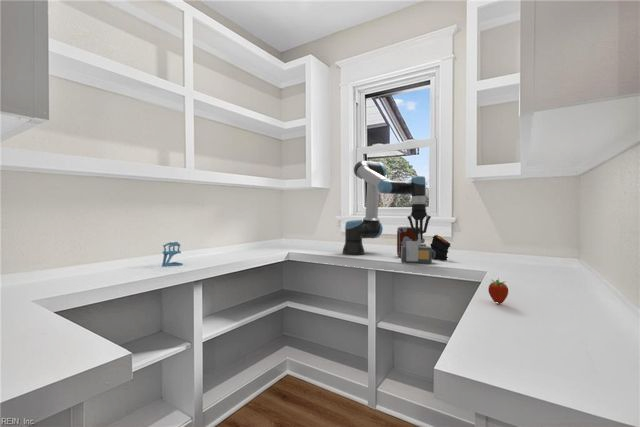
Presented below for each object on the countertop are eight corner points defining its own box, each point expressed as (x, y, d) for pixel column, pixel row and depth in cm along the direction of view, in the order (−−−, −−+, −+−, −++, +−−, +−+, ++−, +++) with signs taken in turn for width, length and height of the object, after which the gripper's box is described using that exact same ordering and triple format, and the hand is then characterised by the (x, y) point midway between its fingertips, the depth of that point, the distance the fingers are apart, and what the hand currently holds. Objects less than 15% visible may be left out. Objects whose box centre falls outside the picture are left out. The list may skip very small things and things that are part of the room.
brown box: (429, 258, 198) (430, 226, 198) (399, 257, 199) (399, 226, 199) (425, 256, 208) (425, 226, 208) (396, 255, 208) (396, 226, 208)
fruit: (487, 304, 96) (488, 278, 96) (488, 300, 100) (488, 275, 100) (508, 307, 93) (508, 280, 93) (508, 303, 97) (508, 277, 97)
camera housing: (402, 263, 176) (402, 245, 176) (400, 260, 187) (401, 244, 187) (436, 264, 173) (436, 246, 173) (433, 261, 183) (433, 245, 183)
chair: (159, 265, 159) (159, 242, 159) (175, 263, 166) (175, 241, 166) (167, 267, 154) (167, 243, 154) (183, 265, 161) (183, 242, 161)
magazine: (429, 255, 201) (437, 234, 196) (444, 266, 191) (453, 245, 185) (425, 255, 199) (433, 234, 194) (440, 267, 189) (449, 245, 183)
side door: (406, 261, 175) (406, 241, 175) (406, 260, 177) (406, 241, 177) (418, 261, 174) (418, 241, 174) (417, 261, 176) (418, 241, 176)
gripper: (407, 203, 173) (408, 246, 173) (431, 203, 171) (432, 246, 171) (406, 204, 180) (406, 244, 180) (429, 203, 178) (429, 244, 178)
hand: (419, 245), depth 175 cm, fingers closed
